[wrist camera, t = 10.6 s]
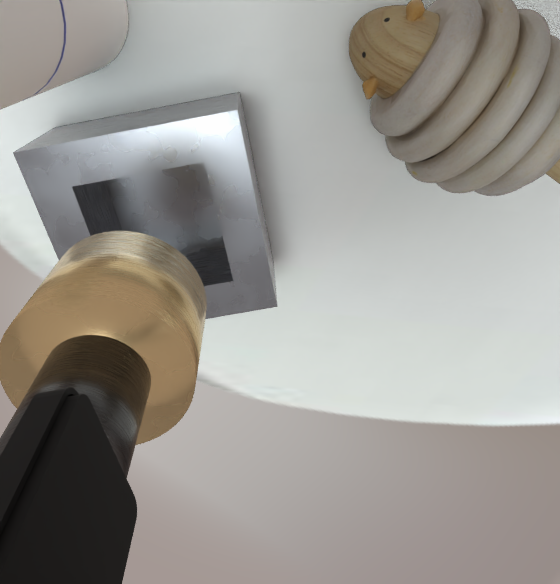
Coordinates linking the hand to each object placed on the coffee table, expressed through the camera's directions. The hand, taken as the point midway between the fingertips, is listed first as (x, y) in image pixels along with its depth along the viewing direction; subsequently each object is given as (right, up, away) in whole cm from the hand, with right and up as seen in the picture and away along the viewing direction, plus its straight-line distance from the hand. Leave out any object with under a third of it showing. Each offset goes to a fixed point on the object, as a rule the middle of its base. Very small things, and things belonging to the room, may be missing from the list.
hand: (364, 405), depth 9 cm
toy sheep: (+9, +16, +27) cm, 33 cm away
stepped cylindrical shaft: (-9, +1, +16) cm, 18 cm away
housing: (-10, +9, +29) cm, 32 cm away
